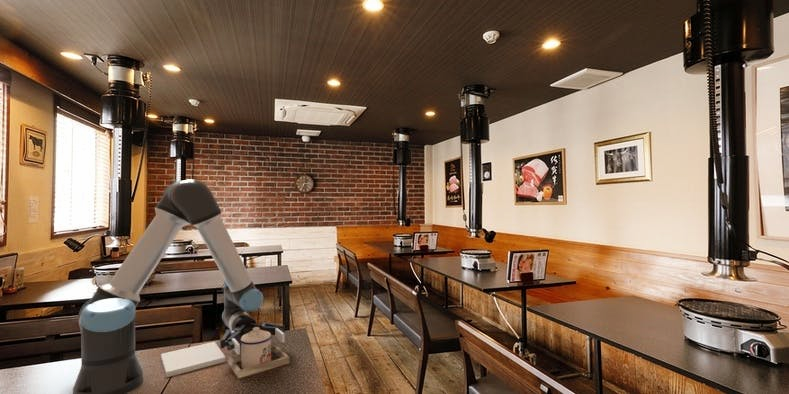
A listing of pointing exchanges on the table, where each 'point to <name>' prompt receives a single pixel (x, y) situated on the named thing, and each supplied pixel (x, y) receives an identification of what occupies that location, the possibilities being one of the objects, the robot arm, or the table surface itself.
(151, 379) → the table surface
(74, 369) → the table surface
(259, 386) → the table surface
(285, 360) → the cup holder
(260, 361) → the teacup with lid
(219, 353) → the ceramic board
